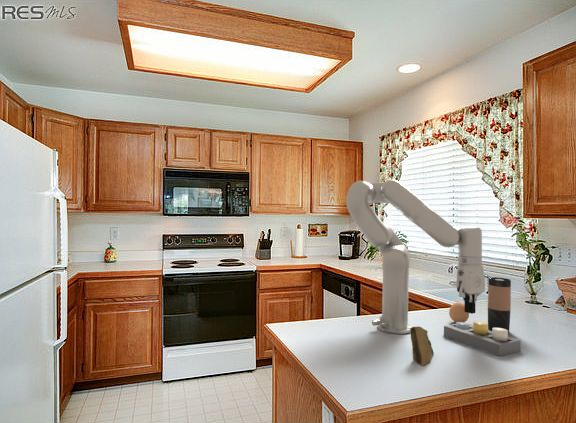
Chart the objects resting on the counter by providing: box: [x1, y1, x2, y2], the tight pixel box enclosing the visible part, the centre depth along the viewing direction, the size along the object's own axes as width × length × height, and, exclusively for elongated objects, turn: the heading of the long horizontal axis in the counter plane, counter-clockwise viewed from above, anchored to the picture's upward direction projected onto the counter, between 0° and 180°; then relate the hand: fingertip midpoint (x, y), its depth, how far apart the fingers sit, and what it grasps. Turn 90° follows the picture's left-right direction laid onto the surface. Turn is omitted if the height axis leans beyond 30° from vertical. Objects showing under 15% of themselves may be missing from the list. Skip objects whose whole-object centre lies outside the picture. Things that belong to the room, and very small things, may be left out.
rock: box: [410, 326, 435, 367], centre depth 111 cm, size 11×9×10 cm
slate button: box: [455, 322, 470, 330], centre depth 133 cm, size 4×4×3 cm
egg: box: [448, 301, 470, 323], centre depth 150 cm, size 7×7×8 cm
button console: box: [443, 323, 522, 357], centre depth 127 cm, size 11×21×4 cm, turn 27°
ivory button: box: [492, 328, 509, 342], centre depth 120 cm, size 4×4×3 cm
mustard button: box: [472, 321, 488, 335], centre depth 127 cm, size 4×4×3 cm
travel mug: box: [487, 276, 512, 334], centre depth 142 cm, size 8×8×20 cm
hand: (469, 312), depth 131 cm, fingers closed
